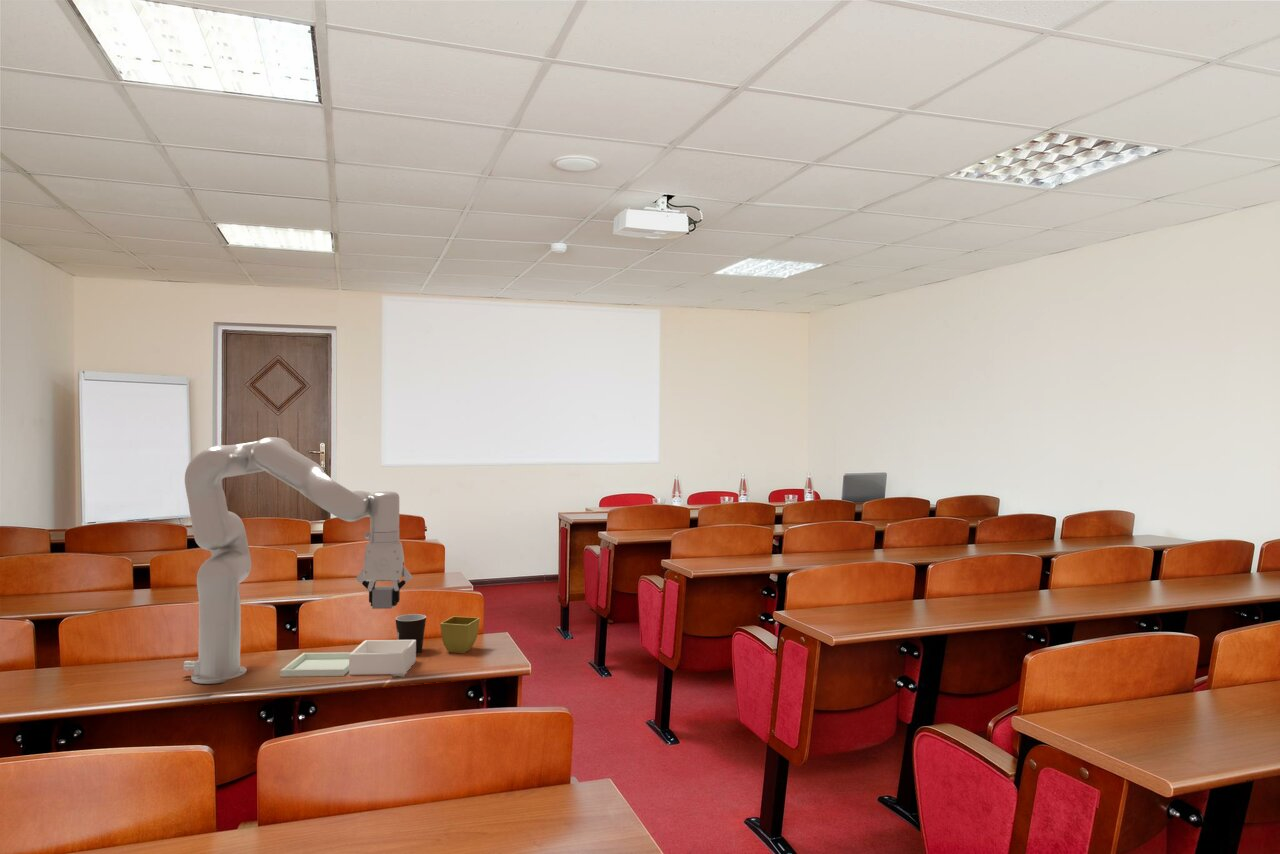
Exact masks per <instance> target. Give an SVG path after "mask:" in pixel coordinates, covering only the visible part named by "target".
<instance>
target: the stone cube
mask: <svg viewBox="0 0 1280 854" xmlns="http://www.w3.org/2000/svg"><path fill="white" fill-rule="evenodd" d="M393 591H394V587H393V585H382V586H381V585H380V586H379V585H378V586H375V588H374V589H373V590H372V606H371V607H372V608H371V610H381V609H382V610H383V609H385V610H386V609H393V608H394V607H395V606H392V592H393Z"/></svg>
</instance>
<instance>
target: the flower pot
mask: <svg viewBox="0 0 1280 854" xmlns="http://www.w3.org/2000/svg"><path fill="white" fill-rule="evenodd" d="M479 626H480V617H473V616H472V617H471V616H457V615H455V616H454V615H453V616H451V617H449V618H448V619H446V620H444V621H442V622H440V632H441V640H442V643H443V645H444V647H445V649H446V651H448V653H459V654H466V653H467V652H468V651H470V650H471V649H472V648H473V646H474V644H475V642H476V640H477V637H478V634H479Z"/></svg>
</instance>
